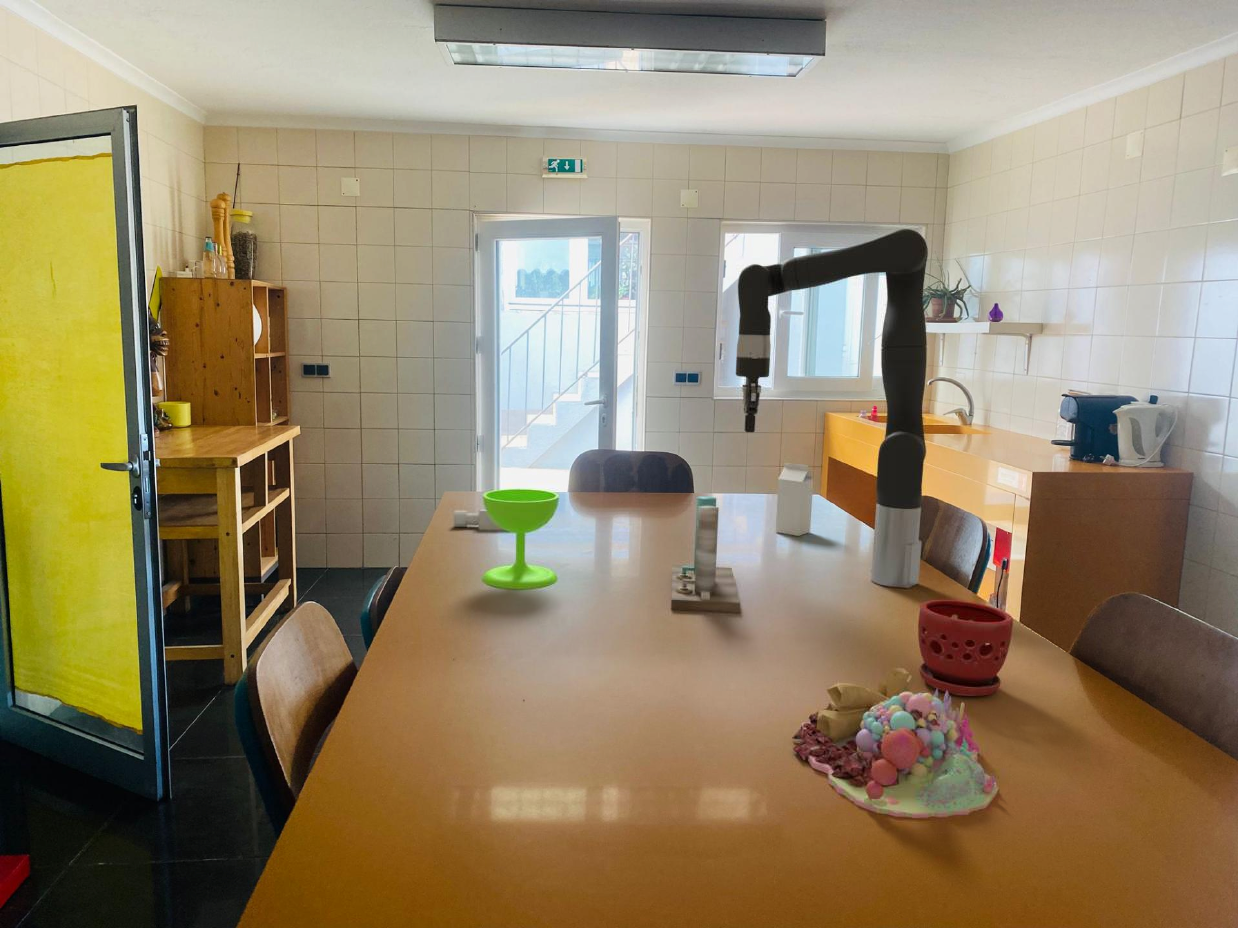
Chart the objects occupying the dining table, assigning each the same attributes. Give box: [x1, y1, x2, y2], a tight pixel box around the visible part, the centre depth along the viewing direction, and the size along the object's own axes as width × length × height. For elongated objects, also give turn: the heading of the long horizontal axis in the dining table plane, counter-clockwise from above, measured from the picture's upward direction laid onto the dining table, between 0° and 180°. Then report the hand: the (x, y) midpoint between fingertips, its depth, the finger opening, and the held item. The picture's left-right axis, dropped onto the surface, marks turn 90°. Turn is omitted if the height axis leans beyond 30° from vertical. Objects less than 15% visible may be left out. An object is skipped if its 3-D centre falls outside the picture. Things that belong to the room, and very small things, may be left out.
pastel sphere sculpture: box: [791, 667, 999, 819], centre depth 106 cm, size 25×24×9 cm
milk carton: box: [775, 462, 814, 537], centre depth 235 cm, size 7×7×19 cm
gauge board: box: [670, 506, 741, 614], centre depth 176 cm, size 26×13×19 cm, turn 176°
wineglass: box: [481, 488, 560, 590], centre depth 182 cm, size 16×16×18 cm
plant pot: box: [917, 599, 1014, 697], centre depth 131 cm, size 13×13×12 cm
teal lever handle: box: [682, 495, 717, 575], centre depth 179 cm, size 4×6×16 cm, turn 86°
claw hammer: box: [453, 509, 505, 531], centre depth 244 cm, size 6×22×30 cm
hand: (749, 432), depth 196 cm, fingers closed
